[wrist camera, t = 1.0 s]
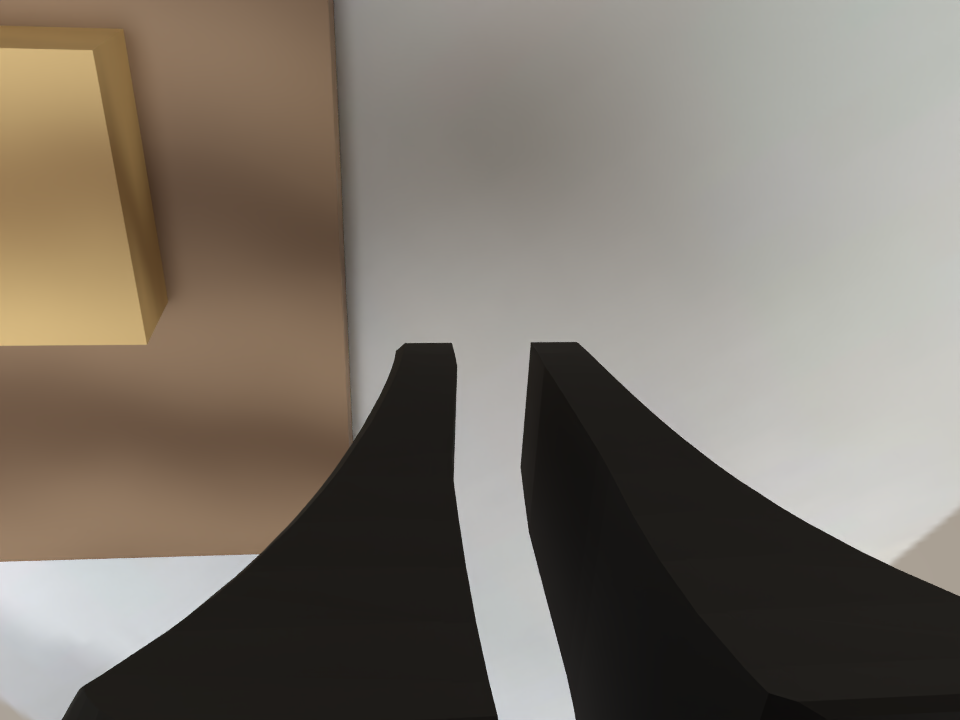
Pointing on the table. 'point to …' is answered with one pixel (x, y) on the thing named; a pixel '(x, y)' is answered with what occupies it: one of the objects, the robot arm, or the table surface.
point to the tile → (74, 193)
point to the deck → (199, 302)
